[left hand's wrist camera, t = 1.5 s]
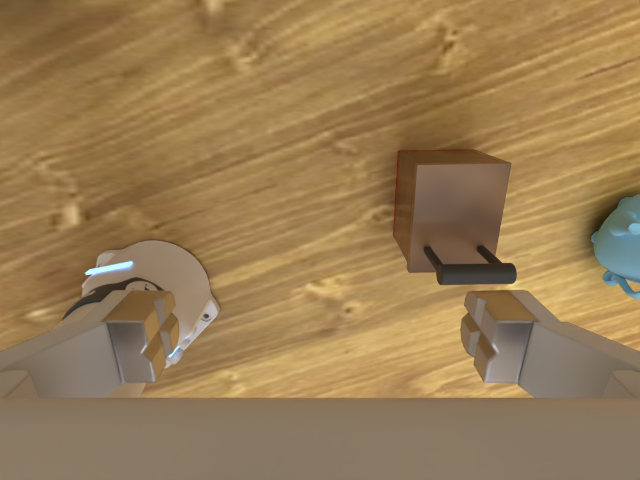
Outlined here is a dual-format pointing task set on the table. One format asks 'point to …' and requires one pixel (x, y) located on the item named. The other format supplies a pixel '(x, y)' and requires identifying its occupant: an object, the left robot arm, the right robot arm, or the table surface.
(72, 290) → the table surface
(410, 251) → the lid
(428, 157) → the chest
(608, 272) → the teapot
